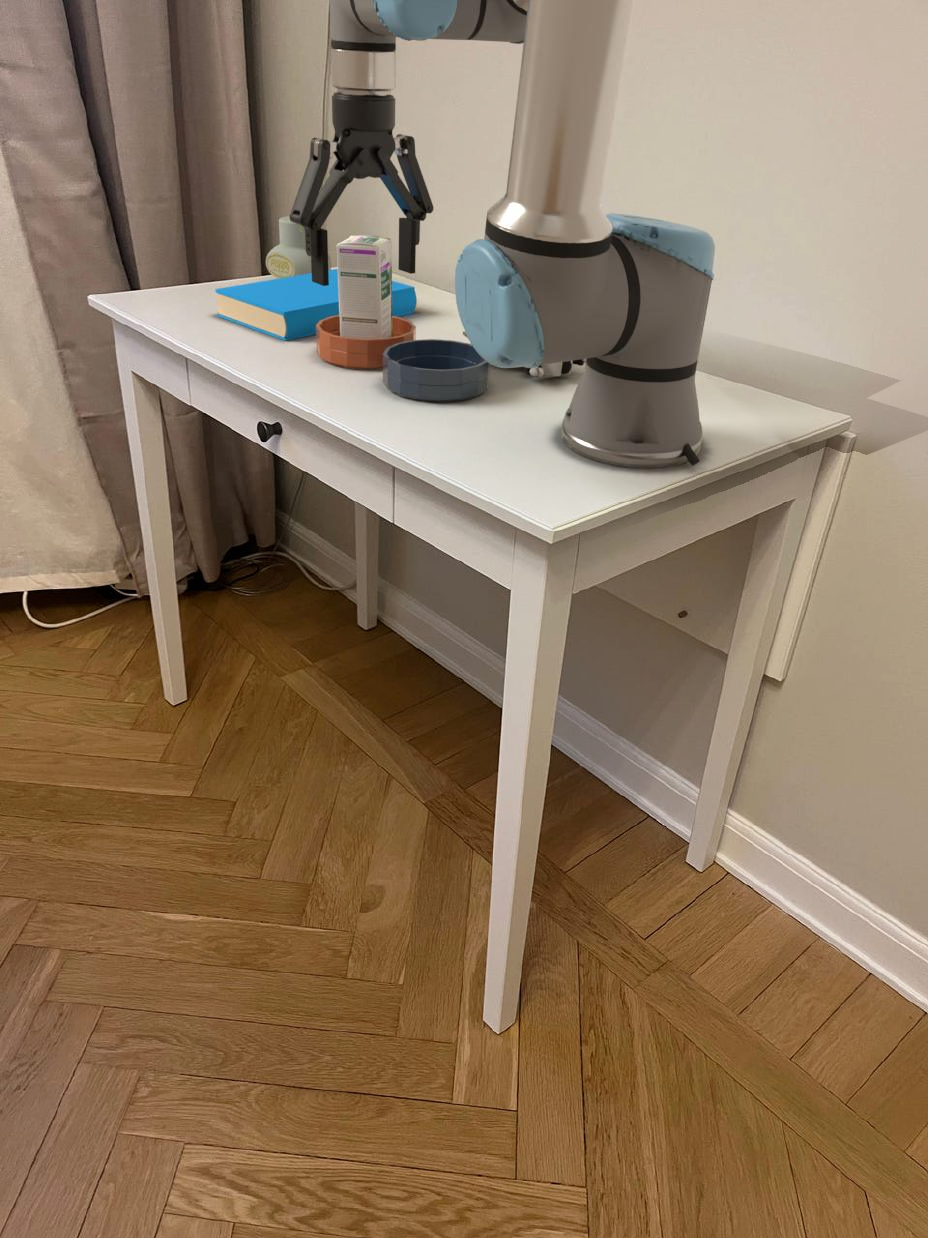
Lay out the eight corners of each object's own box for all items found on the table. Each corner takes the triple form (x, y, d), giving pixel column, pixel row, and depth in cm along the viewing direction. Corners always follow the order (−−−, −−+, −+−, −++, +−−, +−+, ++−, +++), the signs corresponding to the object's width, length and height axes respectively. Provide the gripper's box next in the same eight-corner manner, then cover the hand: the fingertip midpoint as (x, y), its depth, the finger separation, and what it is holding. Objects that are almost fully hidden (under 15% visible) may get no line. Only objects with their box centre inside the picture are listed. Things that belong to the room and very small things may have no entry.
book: (213, 289, 144) (343, 264, 160) (216, 318, 146) (344, 291, 162) (287, 313, 134) (417, 284, 150) (289, 344, 137) (417, 313, 153)
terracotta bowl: (434, 360, 132) (435, 330, 130) (354, 376, 125) (353, 345, 123) (377, 337, 140) (377, 308, 138) (299, 351, 133) (297, 321, 131)
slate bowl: (509, 390, 122) (511, 359, 120) (427, 410, 115) (427, 377, 113) (443, 364, 131) (444, 333, 129) (363, 380, 123) (362, 349, 121)
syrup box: (382, 360, 130) (381, 245, 122) (338, 356, 130) (336, 241, 123) (393, 349, 134) (393, 236, 127) (351, 344, 135) (349, 233, 128)
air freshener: (259, 279, 167) (255, 216, 162) (296, 272, 173) (293, 211, 168) (303, 290, 162) (300, 226, 156) (339, 283, 167) (338, 220, 162)
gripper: (427, 88, 126) (423, 260, 137) (253, 89, 112) (265, 282, 123) (464, 93, 121) (457, 272, 132) (288, 95, 107) (297, 295, 118)
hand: (364, 277), depth 127 cm, fingers open, 13 cm apart
